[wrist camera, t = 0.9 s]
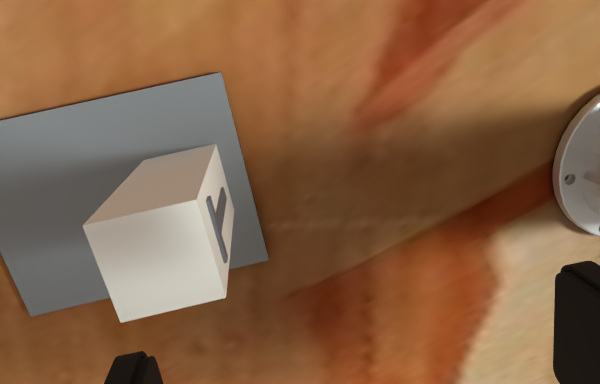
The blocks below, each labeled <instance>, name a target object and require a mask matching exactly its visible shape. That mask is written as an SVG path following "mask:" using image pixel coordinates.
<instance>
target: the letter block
mask: <svg viewBox="0 0 600 384" xmlns="http://www.w3.org/2000/svg"><path fill="white" fill-rule="evenodd" d="M233 219H234V207H233V204H232V200H231V196H230V193H229V189H228V185H227V182H226V178H225V174H224V171H223V167H222V163H221V160H220V156H219V152H218V149H217V145H216V144H212V145H207V146H203V147H198V148H194V149H190V150H185V151H181V152H176V153H172V154H167V155H163V156H159V157H154V158H150V159H145V160H143V161H142V163H141V164H140V165H139V166H138V167H137V168H136V169H135V170H134V171H133V172H132V173H131V174H130V175H129V176H128V177H127V179H126V180H125V181H124V182H123V183H122V184H121V185H120V186H119V187H118V188H117V189H116V190H115V191H114V192H113V194H112V195H111V196H110V197H109V198H108V199H107V200H106V201H105V202H104V203H103V204H102V205H101V206H100V207H99V209H98V210H97V211H96V212H95V213H94V214H93V215H92V216H91V217H90V218H89V219H88V220H87V221H86V222H85V224H84V225H83V229H84V231H85V234H86V236H87V239H88V241H89V244H90V247H91V249H92V252H93V254H94V257H95V259H96V262H97V264H98V267H99V269H100V272H101V274H102V277H103V279H104V282H105V285H106V287H107V290H108V292H109V295H110V297H111V300H112V302H113V305H114V307H115V310H116V312H117V315H118V318H119V320H120V323H122V322H126V321H131V320H135V319H139V318H143V317H147V316H152V315H156V314H160V313H164V312H168V311H173V310H177V309H181V308H185V307H189V306H194V305H198V304H202V303H206V302H210V301H214V300H219V299H223V298H226V293H227V282H228V272H229V261H230V250H231V240H232V229H233Z"/></svg>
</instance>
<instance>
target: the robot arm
mask: <svg viewBox="0 0 600 384" xmlns="http://www.w3.org/2000/svg"><path fill="white" fill-rule="evenodd" d="M553 187H554V193H555V197H556V199H557V202H558V204H559V206H560V208H561V210H562V211H563V212H564V214H565V215H566V217H567V218H568V219H569V220H571V221H572V222H573V223H574V224H575V225H577V226H578V227H580V228H582V229H584V230H585V231H587V232H589V233H591V234H594V235H596V236H599V237H600V94H598V95H597V96H595V97H594V98H593V99H592V100H591V101H589V102H588V103H587V104H586V105H585V106H584V107H583V108H582V109H581V110H580V111H579V112H578V114H577V115H576V116H575V117H574V118H573V120H572V121H571V122H570V124H569V126H568V127H567V129H566V131H565V132H564V134H563V136H562V138H561V140H560V143H559V146H558V148H557V151H556V154H555V159H554V164H553ZM553 369H554V373H555V376H556V378H557V380H558V381H559V383H560V384H600V266H599V265H598V264H596V263H594V262H592V261H584V262H579V263H575V264H570V265H565V266H564V267H562V269H561V272H560V273H559V274H557V275H556V278H555V310H554V354H553ZM104 384H163V381H162V377H161V374H160V371H159V368H158V365H157V362H156V359H155V358H154V356H150V357H147V355H146V354H145V352H143V351H141V352H136V353H131V354H126V355H121V356H117V357H116V358H115V360H114V362H113V364H112V366H111V369H110V371H109V373H108V376H107V378H106V380H105V383H104Z"/></svg>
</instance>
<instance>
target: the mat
mask: <svg viewBox="0 0 600 384" xmlns="http://www.w3.org/2000/svg"><path fill="white" fill-rule="evenodd" d="M212 144H216V145H217V149H218V152H219V156H220V160H221V163H222V167H223V171H224V174H225V178H226V182H227V185H228V189H229V193H230V196H231V200H232V204H233V207H234V219H233V229H232V240H231V250H230V261H229V270H230V269H234V268H239V267H243V266H247V265H251V264H256V263H260V262H264V261H268V260H269V257H268V253H267V249H266V245H265V241H264V238H263V234H262V230H261V226H260V222H259V218H258V214H257V210H256V206H255V202H254V198H253V194H252V191H251V187H250V183H249V179H248V175H247V171H246V167H245V163H244V159H243V155H242V151H241V148H240V144H239V140H238V136H237V132H236V128H235V124H234V120H233V116H232V112H231V108H230V104H229V101H228V97H227V93H226V89H225V85H224V81H223V77H222V73H221V72H218V73H213V74H209V75H204V76H200V77H195V78H191V79H186V80H182V81H177V82H173V83H168V84H164V85H159V86H154V87H150V88H145V89H141V90H136V91H132V92H127V93H123V94H118V95H114V96H109V97H105V98H100V99H96V100H91V101H86V102H82V103H77V104H73V105H68V106H64V107H59V108H55V109H50V110H46V111H41V112H37V113H32V114H28V115H23V116H18V117H14V118H9V119H5V120H0V252H1V255H2V257H3V259H4V261H5V263H6V265H7V267H8V270H9V272H10V274H11V276H12V278H13V280H14V282H15V284H16V287H17V289H18V291H19V293H20V295H21V297H22V299H23V302H24V304H25V306H26V308H27V310H28V312H29V314H30V317H31V316H36V315H40V314H44V313H48V312H53V311H57V310H61V309H65V308H69V307H74V306H78V305H82V304H86V303H91V302H95V301H99V300H103V299H108V298H111V297H110V295H109V292H108V290H107V287H106V285H105V282H104V279H103V277H102V274H101V272H100V269H99V267H98V264H97V262H96V259H95V257H94V254H93V252H92V249H91V247H90V244H89V241H88V239H87V236H86V234H85V231H84V229H83V225H84V224H85V222H86V221H87V220H88V219H89V218H90V217H91V216H92V215H93V214H94V213H95V212H96V211H97V210H98V209H99V207H100V206H101V205H102V204H103V203H104V202H105V201H106V200H107V199H108V198H109V197H110V196H111V195H112V194H113V192H114V191H115V190H116V189H117V188H118V187H119V186H120V185H121V184H122V183H123V182H124V181H125V180H126V179H127V177H128V176H129V175H130V174H131V173H132V172H133V171H134V170H135V169H136V168H137V167H138V166H139V165H140V164H141V163H142V161H143V160H145V159H150V158H154V157H159V156H163V155H167V154H172V153H176V152H181V151H185V150H190V149H194V148H198V147H203V146H207V145H212Z"/></svg>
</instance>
